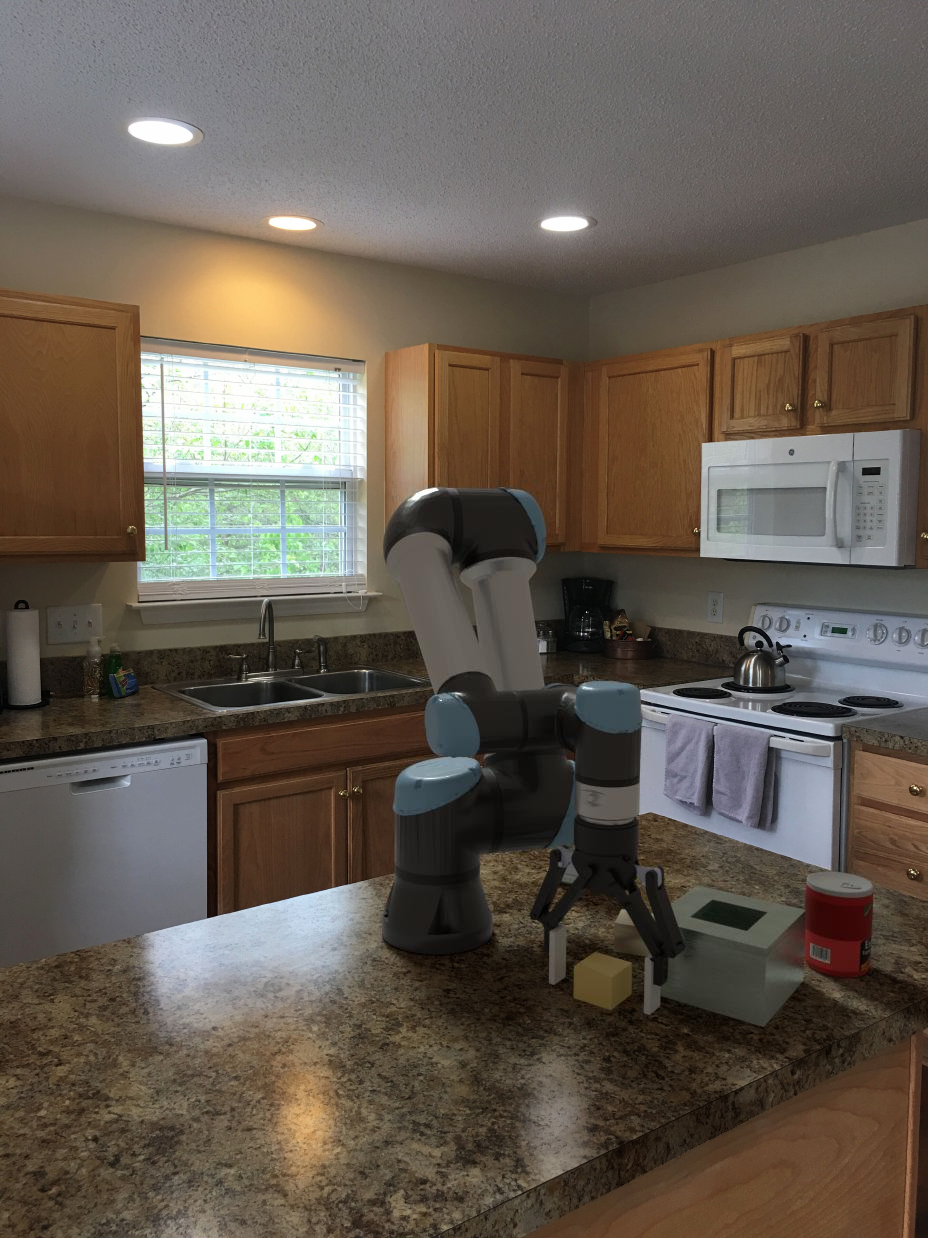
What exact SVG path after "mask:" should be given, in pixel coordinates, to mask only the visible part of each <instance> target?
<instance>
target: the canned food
mask: <svg viewBox="0 0 928 1238" xmlns="http://www.w3.org/2000/svg"><path fill="white" fill-rule="evenodd" d="M874 890H875V889H874V884H873V883H872V882H871V881H870V880H868V879H866V878H864V877H861V876H859V875H855V874H851V873H846V872H841V871H818V872H813V873H811V874H808V875H807V876H806V882H805V897H804V898H805V899H804V900H805V902H804V903H805V905H804V910H806V919H805V945H804V962H805V964H806V965H807V966H808V967H809V968H811V969H812V970H814V971H816V972H818V973H821V974H822V975H825V976H831V977H835V978H844V979H847V978H848V979H849V978H850V979H851V978H853V979H854V978H859V977H863V976H864V975H866V974H867V973H868V972H869V969H870V966H871V955H872V936H873V935H872V934H873V916H874V914H873V913H874V893H875V892H874Z"/></svg>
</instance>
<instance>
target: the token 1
mask: <svg viewBox="0 0 928 1238" xmlns="http://www.w3.org/2000/svg"><path fill="white" fill-rule="evenodd" d="M632 980H633V962H630V961H628V960H623V959H620V958H617V957H613V956H611V955H608V954H604V953H600V952H597V951H594V952H592V953H591V954H590V955H588V956H587V957H586V958H584V959H583V960H581V961H579V962H577V964H574V966H573V999H576V1000H579V1001H582V1002H585V1003H587V1004H592V1005H593V1006H594V1005H595V1006H597V1007H600V1008H603V1009H607V1010H609V1011H612V1010H613V1009H614V1008H616V1007H617V1006H618V1005H619V1004H621V1003H622V1002H624V1001H625V1000H626V999H627V998H628V997H629V996H631V995H632V988H633V986H632V984H633V983H632Z"/></svg>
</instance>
